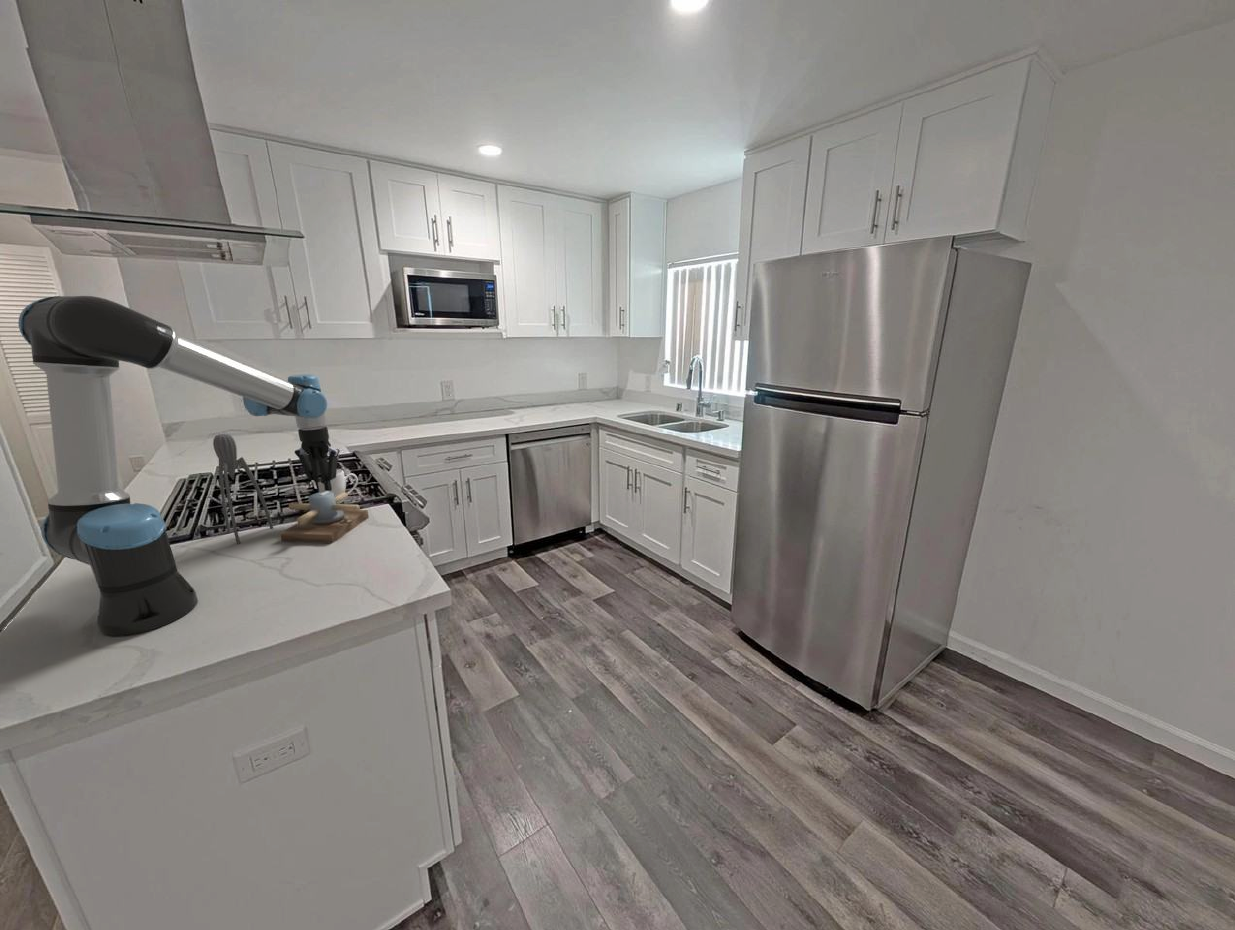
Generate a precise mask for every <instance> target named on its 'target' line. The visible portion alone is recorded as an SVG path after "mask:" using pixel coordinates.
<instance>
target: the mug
mask: <svg viewBox="0 0 1235 930" xmlns="http://www.w3.org/2000/svg"><path fill="white" fill-rule="evenodd" d="M350 476H353V477H354V479H355V484H354V485H353V487H351V489H350V490H348V492H346V489H347V480H348V479H349V477H350ZM330 482H331V487H332V490H331V491H330V492H333V493H334V497H336V496H337V495H339V494H341V493H343V492H346V493H347V496H348V495H350V494H351V493H352V492H353V490H355V488H356V487H357V486H358V482H359V479H358V477H357V475H356V474H355V473H354V472H353V473H352V472H351V473H348V474H346V476H345V472H344V470H343V469H339V468H337V471H336V478H334V479H332V480H331V481H330ZM318 493H320V492H318ZM342 502H344V499H342V500H341V501H339V502H337V503H336V504H340V503H342ZM342 504H343V503H342Z"/></svg>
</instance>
